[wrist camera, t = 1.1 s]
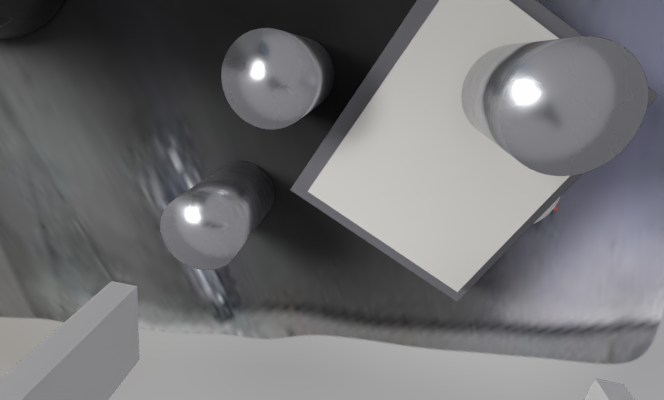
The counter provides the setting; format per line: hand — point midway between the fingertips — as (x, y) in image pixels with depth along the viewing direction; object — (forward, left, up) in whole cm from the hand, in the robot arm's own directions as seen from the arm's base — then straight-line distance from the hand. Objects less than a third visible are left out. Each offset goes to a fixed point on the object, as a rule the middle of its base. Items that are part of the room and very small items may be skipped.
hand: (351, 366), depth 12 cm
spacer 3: (+2, +10, -15) cm, 18 cm away
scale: (+2, +6, -20) cm, 20 cm away
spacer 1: (-8, -7, -20) cm, 22 cm away
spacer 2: (-9, +3, -20) cm, 22 cm away
